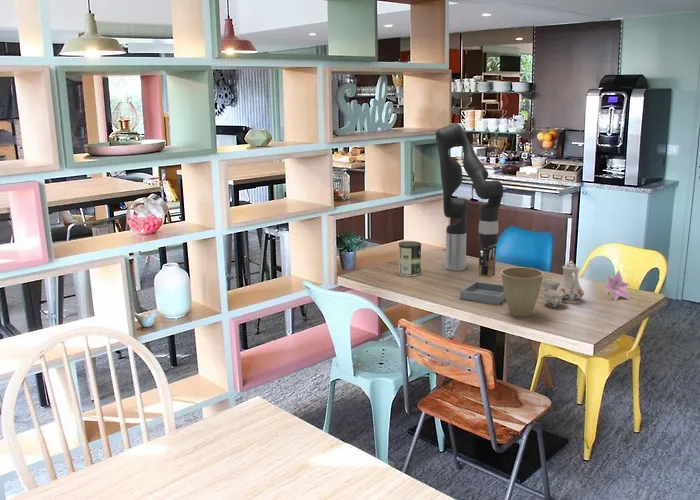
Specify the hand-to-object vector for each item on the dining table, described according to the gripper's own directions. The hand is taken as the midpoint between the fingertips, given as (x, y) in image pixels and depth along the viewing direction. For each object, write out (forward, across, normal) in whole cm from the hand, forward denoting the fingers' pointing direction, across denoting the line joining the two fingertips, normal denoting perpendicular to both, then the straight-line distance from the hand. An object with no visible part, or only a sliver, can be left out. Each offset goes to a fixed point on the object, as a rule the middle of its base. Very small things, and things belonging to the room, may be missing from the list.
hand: (486, 273), depth 263 cm
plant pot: (+10, +14, +18) cm, 25 cm away
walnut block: (+1, 0, 0) cm, 1 cm away
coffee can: (+10, -18, -43) cm, 48 cm away
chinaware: (+10, -11, +27) cm, 31 cm away
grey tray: (+10, 0, 0) cm, 10 cm away
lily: (+10, -24, +45) cm, 52 cm away
